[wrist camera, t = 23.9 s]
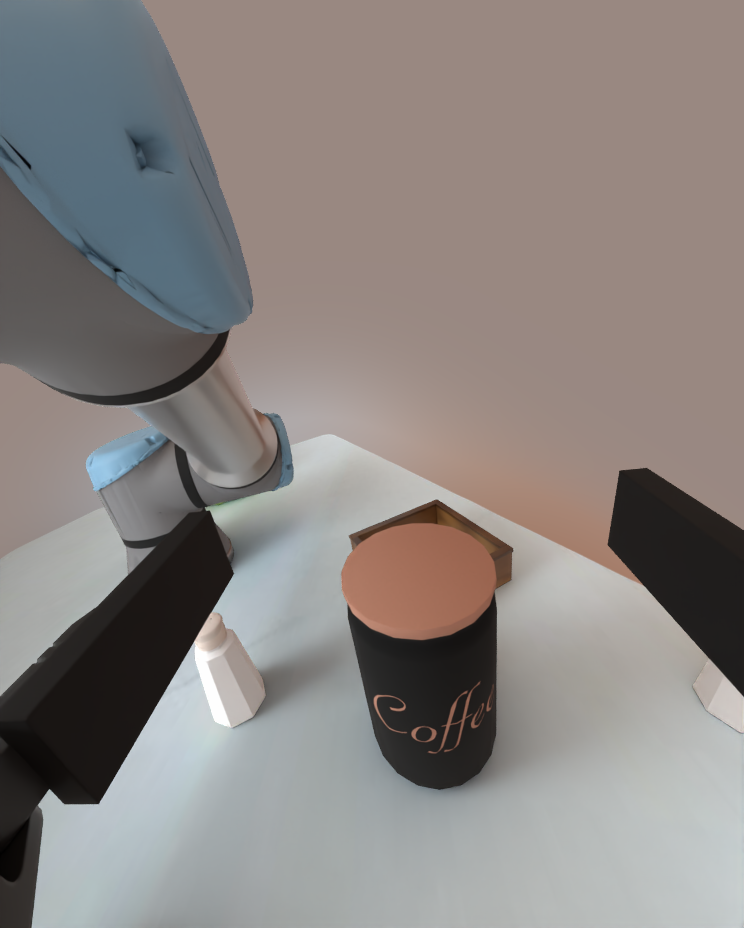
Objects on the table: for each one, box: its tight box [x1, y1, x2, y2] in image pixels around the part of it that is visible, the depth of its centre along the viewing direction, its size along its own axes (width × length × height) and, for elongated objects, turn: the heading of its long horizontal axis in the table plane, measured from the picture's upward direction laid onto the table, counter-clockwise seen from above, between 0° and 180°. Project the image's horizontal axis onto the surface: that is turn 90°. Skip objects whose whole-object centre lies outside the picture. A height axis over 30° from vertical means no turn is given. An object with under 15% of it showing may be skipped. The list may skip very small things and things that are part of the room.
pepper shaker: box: [194, 613, 266, 728], centre depth 34 cm, size 5×5×11 cm
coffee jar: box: [341, 523, 497, 790], centre depth 28 cm, size 11×11×18 cm
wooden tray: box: [349, 499, 513, 589], centre depth 49 cm, size 16×16×5 cm
